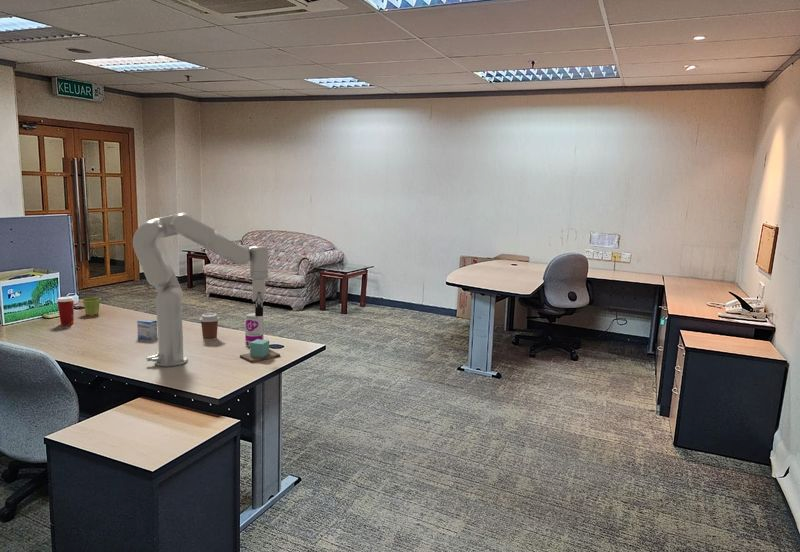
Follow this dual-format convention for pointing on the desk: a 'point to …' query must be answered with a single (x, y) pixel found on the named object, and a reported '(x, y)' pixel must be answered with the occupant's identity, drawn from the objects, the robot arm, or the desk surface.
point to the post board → (256, 359)
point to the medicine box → (147, 329)
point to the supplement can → (253, 328)
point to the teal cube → (259, 348)
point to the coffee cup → (209, 326)
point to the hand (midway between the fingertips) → (259, 313)
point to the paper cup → (66, 310)
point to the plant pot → (91, 305)
